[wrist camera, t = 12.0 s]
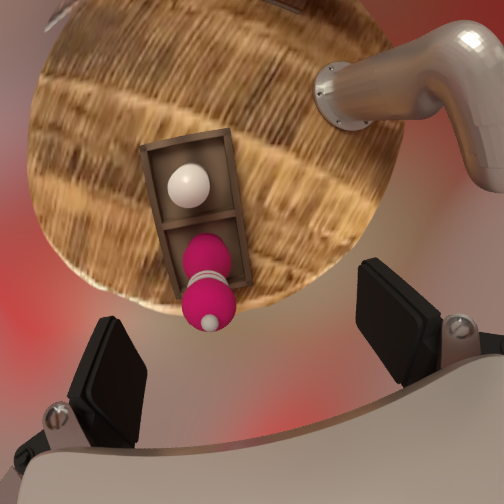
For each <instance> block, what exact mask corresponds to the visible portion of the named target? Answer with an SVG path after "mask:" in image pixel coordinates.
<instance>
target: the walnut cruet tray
mask: <svg viewBox="0 0 504 504" xmlns="http://www.w3.org/2000/svg"><path fill="white" fill-rule="evenodd" d="M139 148H140V154H141V159H142V165H143V170H144V175H145V180H146V185H147V190H148V195H149V199H150V204H151V208H152V213H153V217H154V221H155V225H156V229H157V233H158V237H159V241H160V245H161V249H162V252H163V256H164V260H165V263H166V267H167V270H168V274H169V277H170V281H171V284H172V287H173V290H174V294H175V297H176V299H181V298H183V294H184V293H185V291H186V289H187V286H188V283H189V281H190V280H189V279H188V278H187V276H186V274H185V272H184V269H183V262H182V260H183V254H184V252H185V250H186V248H187V247H188V244H189V242H190V241H191V239H192V238H193V237H195V236H196V235H198V234H200V233H213V234H215V235H217V236H218V237H220V238H221V239H222V240H223V242H224V244H225V246H226V247H227V248H228V250H229V252H230V255H231V269H230V272H229V274H228V276H227V278H226V280H227V282H228V286H229V288H230V289H235V288H240V287H245V286H250V285H253V282H252V276H251V269H250V262H249V256H248V249H247V242H246V235H245V229H244V222H243V215H242V208H241V201H240V194H239V188H238V181H237V174H236V167H235V160H234V153H233V146H232V139H231V132H230V128H225V129H219V130H212V131H206V132H201V133H195V134H190V135H185V136H180V137H175V138H170V139H166V140H162V141H157V142H153V143H149V144H145V145H141V146H139ZM187 162H197V163H199V164H201V165H203V166H204V167H205V169H206V170H207V173H208V177H209V184H210V190H209V194H208V196H207V198H206V200H205V201H204V202H203V203H202V204H200V205H199V206H196V207H193V208H183V207H180V206H178V205H176V204H175V203H174V202H173V201H172V200H171V198H170V196H169V194H168V182H169V179H170V177H171V176H172V174H173V173H174V172H175V171H176V170H177V169H178V168H179V167H180V166H182V165H183V164H185V163H187Z"/></svg>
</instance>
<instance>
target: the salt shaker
mask: <svg viewBox="0 0 504 504" xmlns="http://www.w3.org/2000/svg"><path fill="white" fill-rule="evenodd" d="M209 190H210V184H209V177H208V173H207V170H206V169H205V167H204V166H203V165H201V164H199V163H197V162H187V163H185V164H183V165H182V166H180V167H179V168H178V169H177V170H176V171H175V172H174V173H173V174H172V176H171V177H170V179H169V182H168V194H169V196H170V198H171V200H172V201H173V202H174V203H175V204H176V205H178V206H180V207H183V208H193V207H196V206H199V205H200V204H202V203H203V202H204V201H205V200H206V198H207V196H208V194H209Z"/></svg>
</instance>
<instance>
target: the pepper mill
mask: <svg viewBox="0 0 504 504" xmlns="http://www.w3.org/2000/svg"><path fill="white" fill-rule="evenodd" d="M182 262H183V269H184V272H185V274H186V276H187V278H188V279H189V280H190V281H189V283H188V286H187V289H186V291H185V293H184V294H183V298H182V312H183V315H184V317H185V318H186V320H187V321H188V323H189V324H191V325H192V326H193V327H195V328H196V329H198V330H201V331H205V332H213V331H218V330H220V329H222V328H224V327H226V326H227V325H228V324H229V323H230V322H231V320H232V319H233V317H234V315H235V312H236V299H235V296H234V293H233V292H232V290H231V289H230V288H229V286H228V282H227V280H226V278H227V276H228V274H229V272H230V269H231V255H230V252H229V250H228V248H227V247H226V246H225V244H224V242H223V240H222V239H221V238H220V237H218V236H217V235H215V234H213V233H200V234H198V235H196V236H195V237H193V238H192V239H191V241H190V242H189V244H188V247H187V248H186V250H185V252H184V254H183V260H182Z"/></svg>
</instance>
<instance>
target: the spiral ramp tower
mask: <svg viewBox="0 0 504 504" xmlns="http://www.w3.org/2000/svg"><path fill="white" fill-rule="evenodd" d="M264 1H267V2H270V3H272V4H275V5H278V6H280V7H283V8H285V9H288V10H290V11H292V12H295V13H297V14H299V13H300V12H301V11H302V10H303V8H304V6H305V4H306V2H307V0H264Z"/></svg>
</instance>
